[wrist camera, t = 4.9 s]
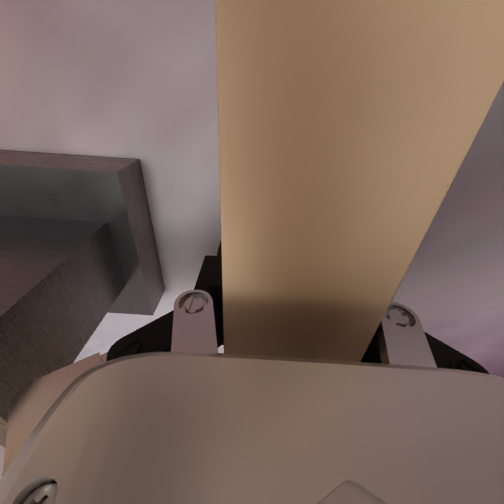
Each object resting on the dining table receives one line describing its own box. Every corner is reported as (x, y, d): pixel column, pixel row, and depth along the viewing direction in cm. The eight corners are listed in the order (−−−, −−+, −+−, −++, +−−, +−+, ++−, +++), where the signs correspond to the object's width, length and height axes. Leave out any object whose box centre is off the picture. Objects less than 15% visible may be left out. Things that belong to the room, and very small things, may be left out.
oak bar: (415, -125, 7) (1047, -981, 1) (291, 370, 20) (302, 475, 15) (248, -134, 7) (189, -1023, 1) (236, 367, 20) (227, 470, 15)
